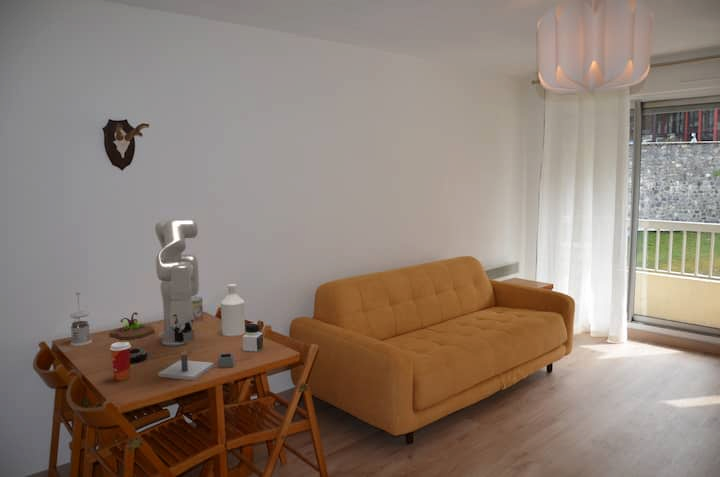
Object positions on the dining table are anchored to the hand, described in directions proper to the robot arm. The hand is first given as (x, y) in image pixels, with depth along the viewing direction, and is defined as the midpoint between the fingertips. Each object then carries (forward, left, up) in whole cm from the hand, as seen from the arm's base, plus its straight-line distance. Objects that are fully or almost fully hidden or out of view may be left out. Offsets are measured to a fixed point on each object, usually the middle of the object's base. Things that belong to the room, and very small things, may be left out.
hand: (183, 338), depth 219 cm
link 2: (+11, +14, -15) cm, 23 cm away
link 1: (0, 0, -1) cm, 1 cm away
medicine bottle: (+13, +36, -15) cm, 41 cm away
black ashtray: (-32, +10, -15) cm, 37 cm away
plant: (-57, +43, -16) cm, 73 cm away
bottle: (-8, +57, -15) cm, 60 cm away
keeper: (-1, +3, -15) cm, 15 cm away
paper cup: (-22, -10, -15) cm, 29 cm away
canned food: (-42, +74, -15) cm, 87 cm away
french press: (-73, +25, -15) cm, 79 cm away
